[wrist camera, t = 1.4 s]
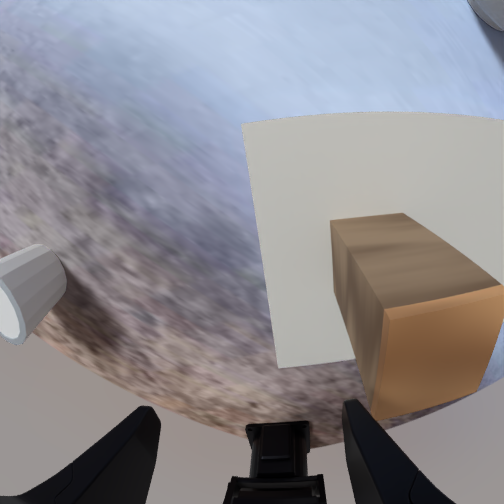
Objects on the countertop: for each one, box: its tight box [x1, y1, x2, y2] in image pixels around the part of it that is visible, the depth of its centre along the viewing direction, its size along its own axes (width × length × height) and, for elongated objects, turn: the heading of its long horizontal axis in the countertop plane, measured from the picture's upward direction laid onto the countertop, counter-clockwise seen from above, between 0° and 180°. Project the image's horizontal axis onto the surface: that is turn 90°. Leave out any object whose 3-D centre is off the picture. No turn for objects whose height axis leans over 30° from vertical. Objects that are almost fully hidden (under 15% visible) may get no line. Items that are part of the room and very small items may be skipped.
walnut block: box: [330, 213, 504, 421], centre depth 13 cm, size 5×5×11 cm
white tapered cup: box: [0, 244, 67, 345], centre depth 19 cm, size 7×7×7 cm
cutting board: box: [241, 112, 504, 368], centre depth 18 cm, size 18×24×1 cm
